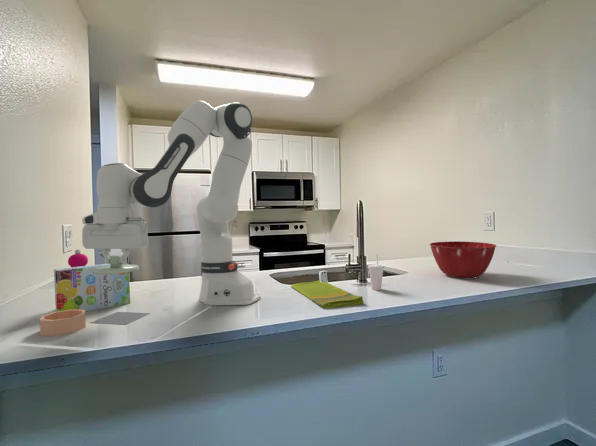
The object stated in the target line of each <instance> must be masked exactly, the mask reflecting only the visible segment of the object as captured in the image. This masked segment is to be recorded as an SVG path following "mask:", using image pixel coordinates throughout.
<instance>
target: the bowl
mask: <svg viewBox="0 0 596 446" xmlns="http://www.w3.org/2000/svg"><path fill="white" fill-rule="evenodd" d="M86 327H87V325H86V311H85V310H77V309H72V310H65V311H58V312H56V311H53V312H50V313H48V314H44V315H41V316H40V319H39V330H40V331H39V334H40V336H44V337H45V336H47V337H50V336H51V337H56V336H62V335H66V334H72V333H75V332H77V331H81V330H83V329H85V328H86Z"/></svg>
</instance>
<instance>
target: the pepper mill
mask: <svg viewBox="0 0 596 446" xmlns="http://www.w3.org/2000/svg"><path fill="white" fill-rule="evenodd" d="M88 262H89V258H88V256H87V255H86V254H84V253H81V249H78V248H77V249H75V251H74V254H71V255H70V256H69V257H68V259H67V264H68V265H69V267H70V268H71V267H80V266H87V264H88Z"/></svg>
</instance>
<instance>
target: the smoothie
mask: <svg viewBox="0 0 596 446" xmlns="http://www.w3.org/2000/svg"><path fill="white" fill-rule="evenodd" d="M367 268H368V271H369V272H368V274H369V278H370V279H369V280H370V287H371V290H373V291H381V290H382V284H383V276H384V269H385V265H384V264H379V254H376V263H375V264H369V265H367Z"/></svg>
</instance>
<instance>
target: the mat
mask: <svg viewBox="0 0 596 446" xmlns="http://www.w3.org/2000/svg"><path fill="white" fill-rule="evenodd" d="M150 314H151V313H149V312H135V311H134V312H130V311H129V312H128V311H116V312H114V313H111V314H109V315H106V316H103V317H101V318H97V319H95V320H93V321H91V322H89V324H101V325H102V324H103V325H117V326H118V325H119V326H127V325H129V324H131V323H133V322H136V321H138V320H140V319H142V318H144V317H146V316H149V315H150Z"/></svg>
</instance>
